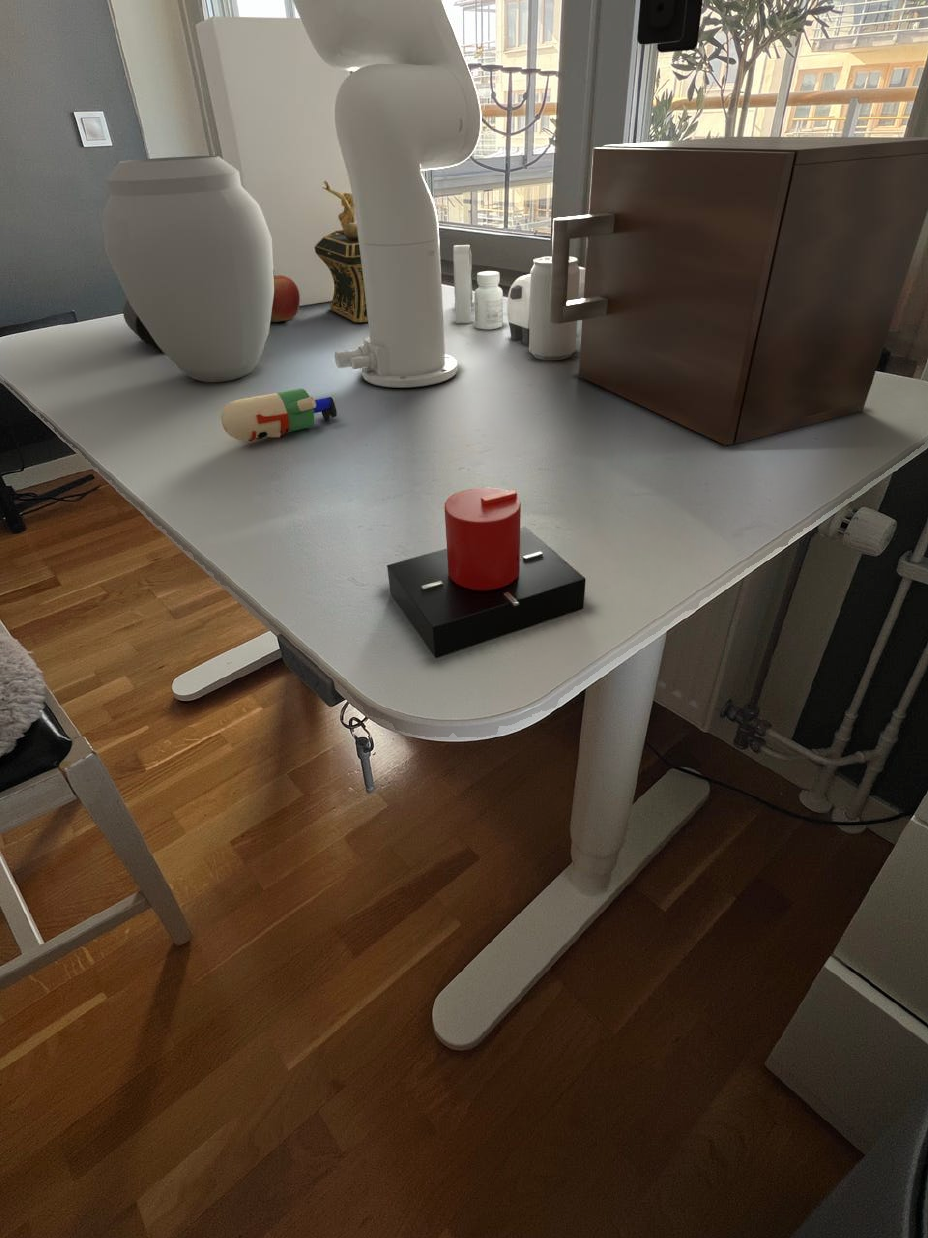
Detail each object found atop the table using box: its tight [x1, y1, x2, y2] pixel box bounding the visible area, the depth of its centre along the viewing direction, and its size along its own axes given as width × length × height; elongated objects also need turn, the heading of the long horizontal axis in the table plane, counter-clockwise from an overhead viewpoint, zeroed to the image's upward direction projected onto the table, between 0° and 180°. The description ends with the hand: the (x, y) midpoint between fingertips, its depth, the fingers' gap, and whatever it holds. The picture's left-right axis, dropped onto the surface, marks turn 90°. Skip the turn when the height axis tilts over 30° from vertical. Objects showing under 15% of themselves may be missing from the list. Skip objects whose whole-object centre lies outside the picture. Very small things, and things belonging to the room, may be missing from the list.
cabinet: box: [602, 136, 928, 445], centre depth 72 cm, size 18×26×24 cm
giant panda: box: [506, 261, 586, 346], centre depth 99 cm, size 15×6×10 cm, turn 121°
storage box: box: [195, 16, 356, 307], centre depth 118 cm, size 21×10×40 cm, turn 121°
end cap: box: [122, 299, 164, 353], centre depth 103 cm, size 10×7×7 cm
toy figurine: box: [220, 388, 338, 442], centre depth 72 cm, size 8×4×12 cm
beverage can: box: [528, 255, 580, 361], centre depth 90 cm, size 6×6×12 cm
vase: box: [101, 155, 274, 383], centre depth 85 cm, size 20×20×24 cm
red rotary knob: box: [443, 486, 522, 591], centre depth 44 cm, size 5×5×5 cm
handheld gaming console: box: [452, 244, 474, 324], centre depth 113 cm, size 11×3×15 cm
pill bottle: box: [473, 270, 504, 331], centre depth 105 cm, size 4×4×8 cm
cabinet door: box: [550, 146, 795, 446], centre depth 67 cm, size 8×26×24 cm, turn 26°
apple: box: [270, 269, 300, 323], centre depth 113 cm, size 8×8×8 cm
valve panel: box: [386, 526, 587, 659], centre depth 46 cm, size 11×9×3 cm
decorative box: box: [315, 181, 368, 324], centre depth 110 cm, size 20×10×20 cm, turn 29°
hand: (668, 46), depth 52 cm, fingers open, 9 cm apart
